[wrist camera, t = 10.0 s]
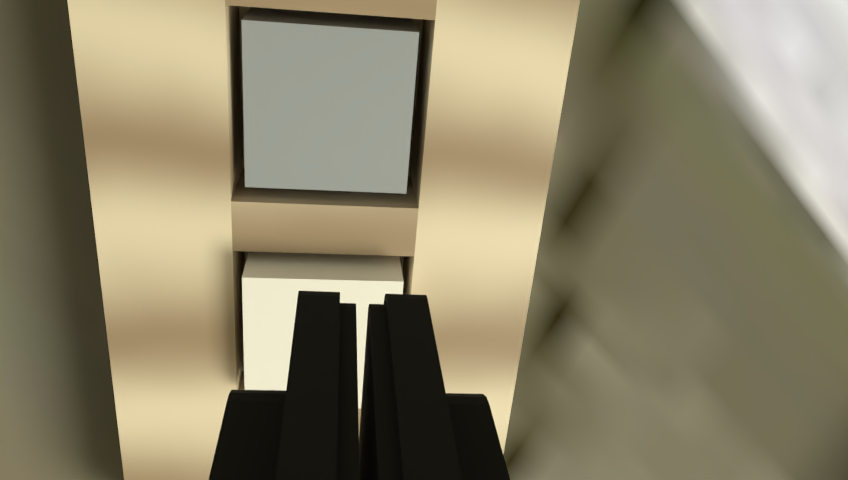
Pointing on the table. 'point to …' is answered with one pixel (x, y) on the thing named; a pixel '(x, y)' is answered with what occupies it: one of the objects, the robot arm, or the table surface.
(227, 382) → the beige flat block
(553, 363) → the table surface
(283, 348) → the key offwhite
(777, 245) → the table surface
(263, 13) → the key slate
